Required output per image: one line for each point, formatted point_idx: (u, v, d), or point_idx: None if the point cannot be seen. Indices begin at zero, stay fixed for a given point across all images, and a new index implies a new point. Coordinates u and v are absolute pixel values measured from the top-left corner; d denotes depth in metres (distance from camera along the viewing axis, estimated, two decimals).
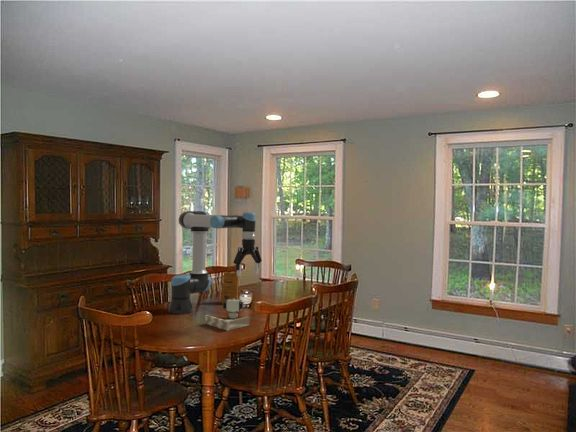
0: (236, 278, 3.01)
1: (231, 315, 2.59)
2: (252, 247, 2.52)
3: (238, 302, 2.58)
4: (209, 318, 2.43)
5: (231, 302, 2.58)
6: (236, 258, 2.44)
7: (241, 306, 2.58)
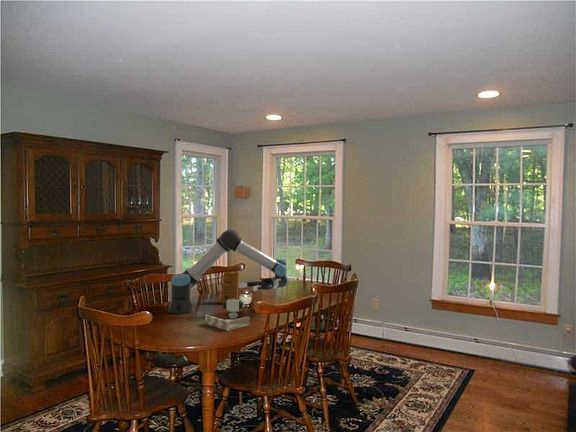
0: (236, 278, 3.01)
1: (231, 315, 2.59)
2: None
3: (238, 302, 2.58)
4: (209, 318, 2.43)
5: (231, 302, 2.58)
6: (267, 287, 2.69)
7: (241, 306, 2.58)
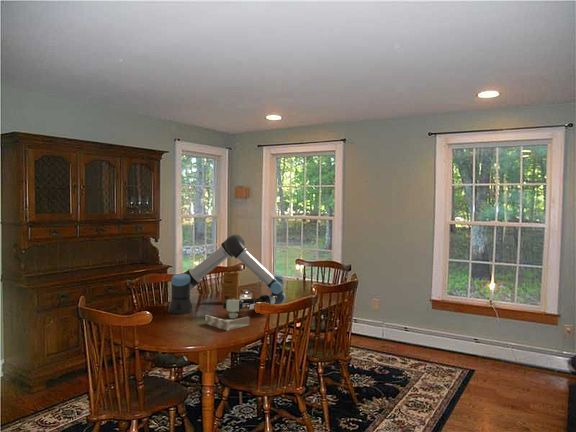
0: (236, 278, 3.01)
1: (231, 315, 2.59)
2: None
3: (238, 302, 2.58)
4: (209, 318, 2.43)
5: (231, 302, 2.58)
6: None
7: (241, 306, 2.58)
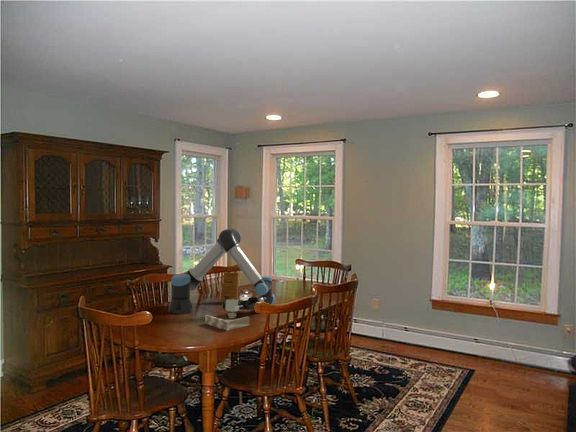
0: (236, 278, 3.01)
1: (230, 315, 2.59)
2: None
3: (237, 302, 2.58)
4: (209, 318, 2.43)
5: (230, 302, 2.58)
6: (250, 307, 2.60)
7: None
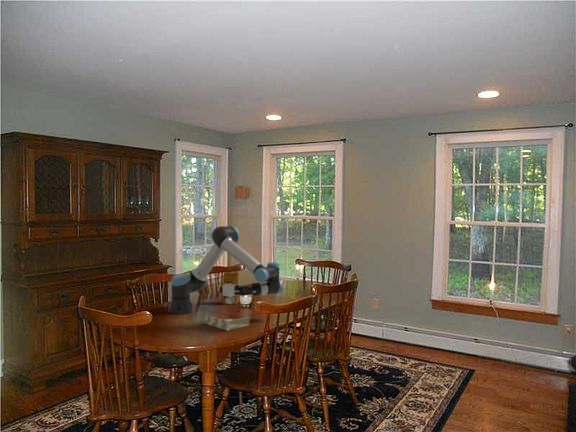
0: (236, 278, 3.01)
1: (227, 300, 2.48)
2: None
3: (233, 287, 2.46)
4: (209, 318, 2.43)
5: (227, 286, 2.47)
6: (246, 293, 2.45)
7: None
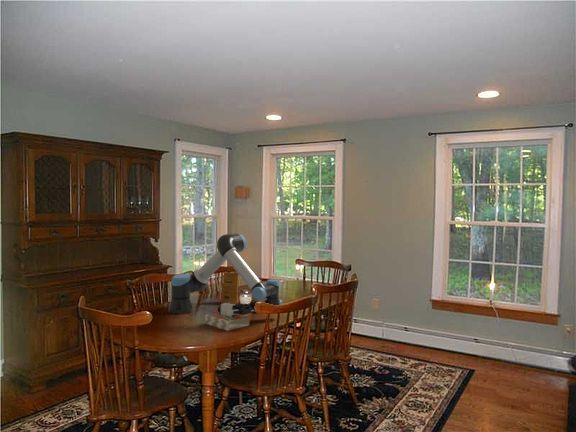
0: (236, 278, 3.01)
1: None
2: None
3: (231, 307, 2.43)
4: (209, 318, 2.43)
5: (225, 306, 2.44)
6: (245, 312, 2.42)
7: None
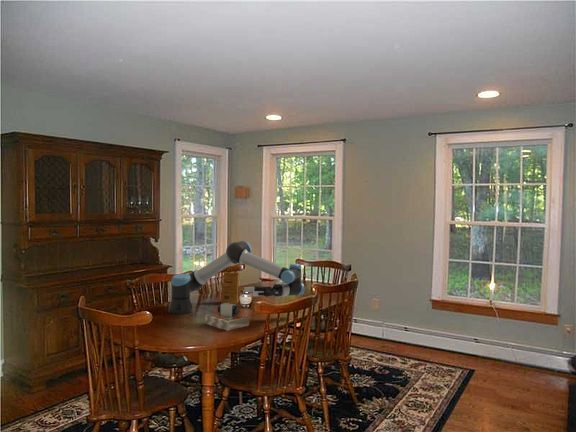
0: (236, 278, 3.01)
1: None
2: None
3: (231, 307, 2.43)
4: (209, 318, 2.43)
5: (225, 306, 2.44)
6: (270, 294, 2.49)
7: (234, 311, 2.42)
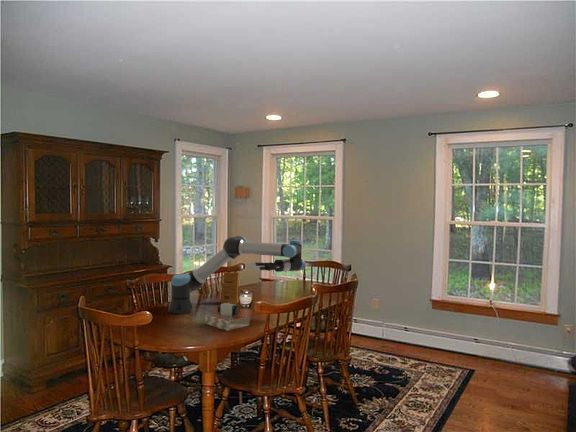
0: (236, 278, 3.01)
1: None
2: None
3: (231, 307, 2.43)
4: (209, 318, 2.43)
5: (225, 306, 2.44)
6: (271, 268, 2.52)
7: (234, 311, 2.42)
